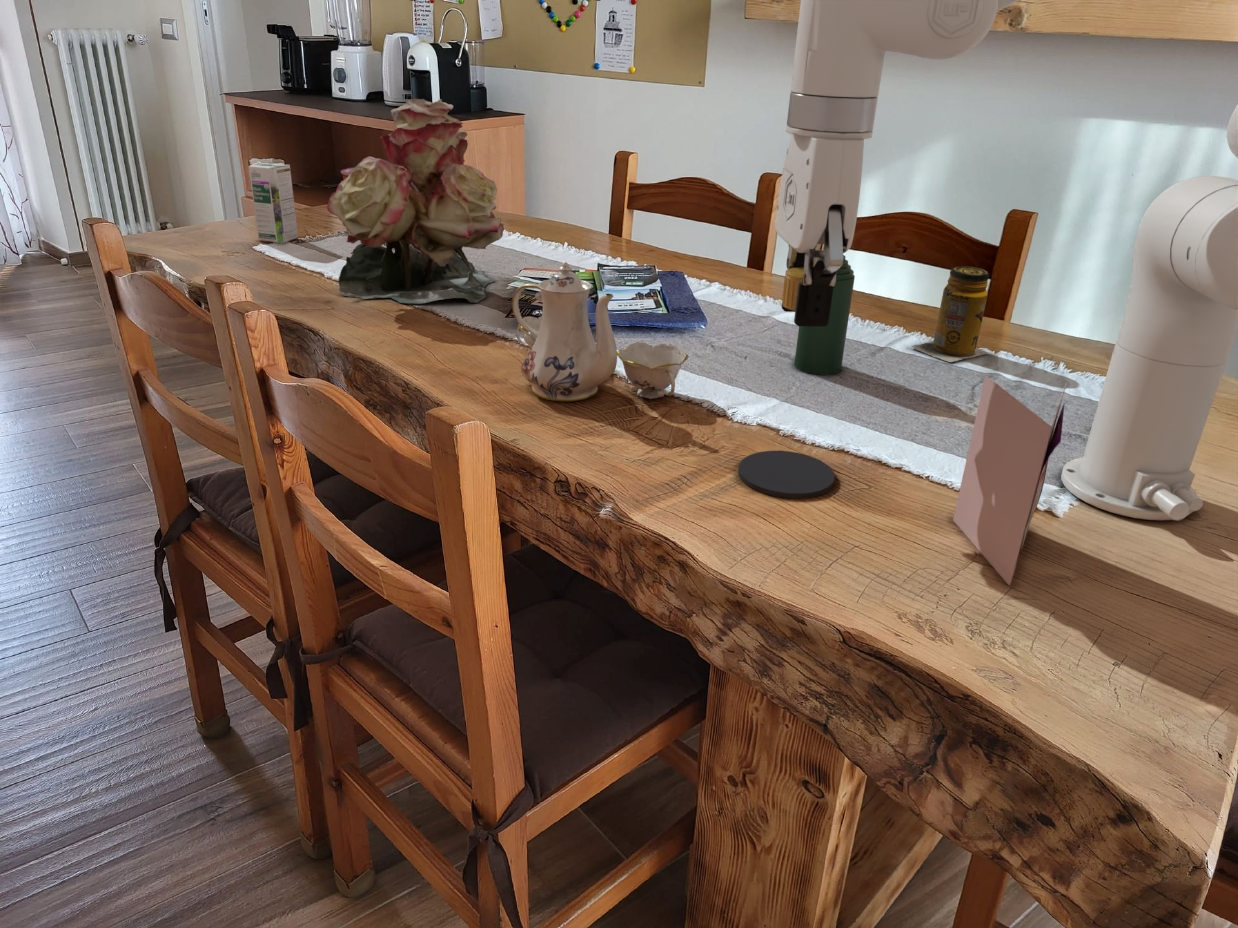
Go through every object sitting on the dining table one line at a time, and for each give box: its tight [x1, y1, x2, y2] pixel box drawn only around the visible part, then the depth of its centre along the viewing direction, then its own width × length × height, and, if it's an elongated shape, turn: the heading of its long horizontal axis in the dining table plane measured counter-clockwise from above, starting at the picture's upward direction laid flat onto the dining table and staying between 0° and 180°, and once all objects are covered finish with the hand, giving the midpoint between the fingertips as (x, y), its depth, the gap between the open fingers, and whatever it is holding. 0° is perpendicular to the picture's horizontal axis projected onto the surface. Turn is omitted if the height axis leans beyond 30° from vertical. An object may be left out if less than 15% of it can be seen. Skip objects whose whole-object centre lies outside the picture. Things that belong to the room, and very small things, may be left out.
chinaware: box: [511, 261, 689, 403], centre depth 115 cm, size 28×17×17 cm, turn 56°
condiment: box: [910, 265, 990, 363], centre depth 132 cm, size 7×8×12 cm
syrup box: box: [248, 162, 299, 244], centre depth 180 cm, size 6×6×14 cm
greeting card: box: [952, 374, 1067, 587], centre depth 81 cm, size 11×7×15 cm, turn 151°
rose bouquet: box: [326, 97, 505, 305], centre depth 150 cm, size 26×29×30 cm
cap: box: [781, 267, 804, 311], centre depth 87 cm, size 4×4×3 cm
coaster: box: [737, 450, 836, 500], centre depth 96 cm, size 10×10×1 cm
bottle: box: [794, 244, 856, 376], centre depth 122 cm, size 6×6×19 cm
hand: (804, 316), depth 88 cm, fingers closed on cap, 3 cm apart
